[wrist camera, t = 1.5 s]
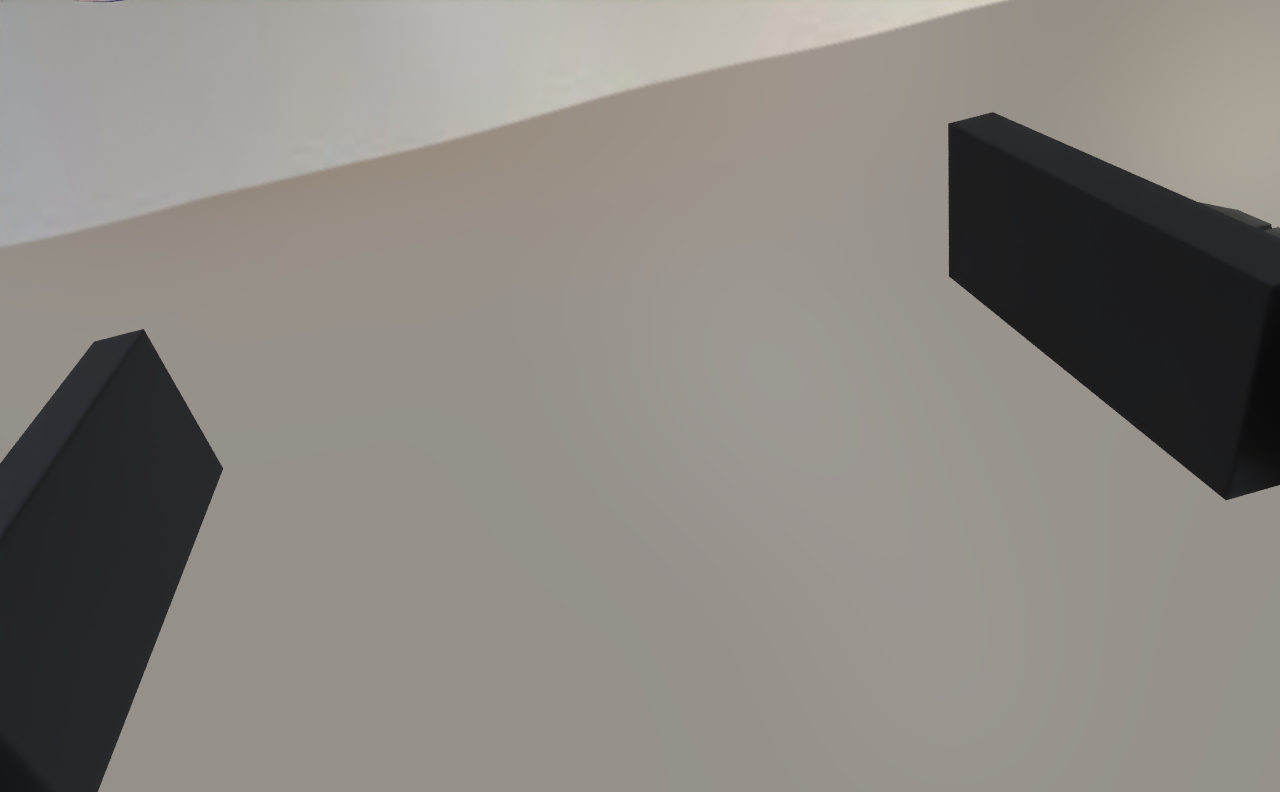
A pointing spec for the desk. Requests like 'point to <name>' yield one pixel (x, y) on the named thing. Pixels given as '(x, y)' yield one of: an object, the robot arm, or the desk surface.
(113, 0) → the teacup with lid
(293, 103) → the desk surface
